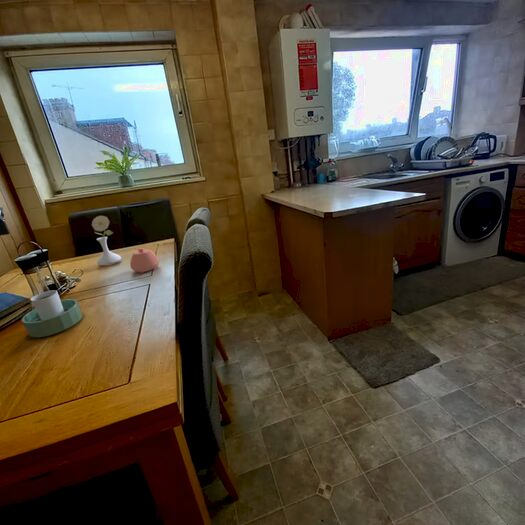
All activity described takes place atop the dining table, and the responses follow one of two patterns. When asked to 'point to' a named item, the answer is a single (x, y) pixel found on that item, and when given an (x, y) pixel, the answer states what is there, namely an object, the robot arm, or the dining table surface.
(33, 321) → the teal pet bowl
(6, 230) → the robot arm
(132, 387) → the dining table surface
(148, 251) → the sugar bowl
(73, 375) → the dining table surface
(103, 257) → the flower in vase
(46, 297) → the white cup
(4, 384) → the dining table surface
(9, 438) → the dining table surface
